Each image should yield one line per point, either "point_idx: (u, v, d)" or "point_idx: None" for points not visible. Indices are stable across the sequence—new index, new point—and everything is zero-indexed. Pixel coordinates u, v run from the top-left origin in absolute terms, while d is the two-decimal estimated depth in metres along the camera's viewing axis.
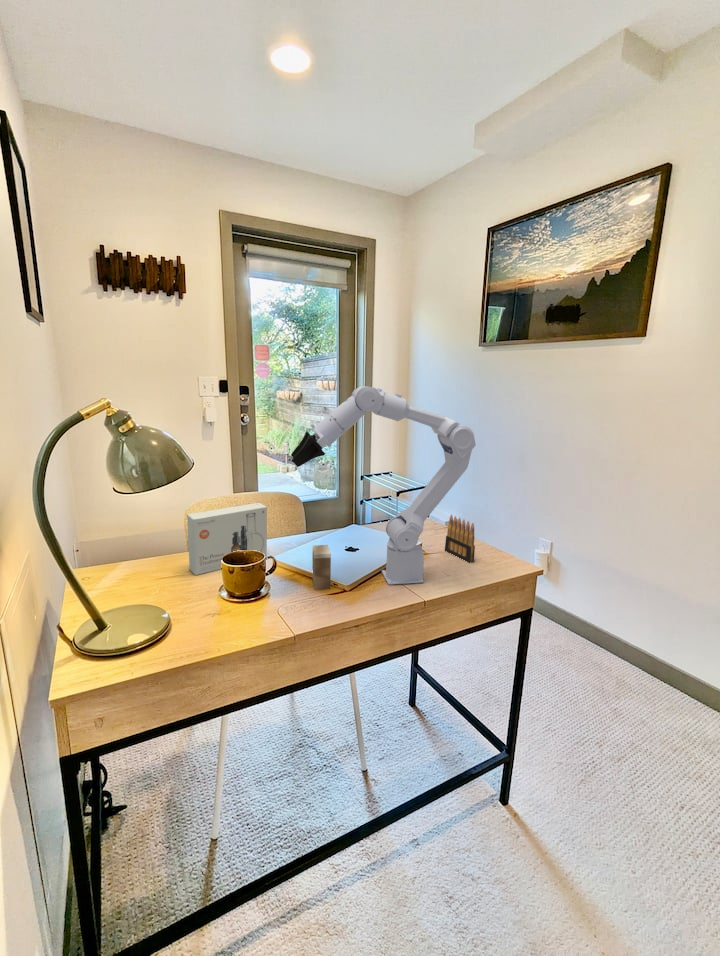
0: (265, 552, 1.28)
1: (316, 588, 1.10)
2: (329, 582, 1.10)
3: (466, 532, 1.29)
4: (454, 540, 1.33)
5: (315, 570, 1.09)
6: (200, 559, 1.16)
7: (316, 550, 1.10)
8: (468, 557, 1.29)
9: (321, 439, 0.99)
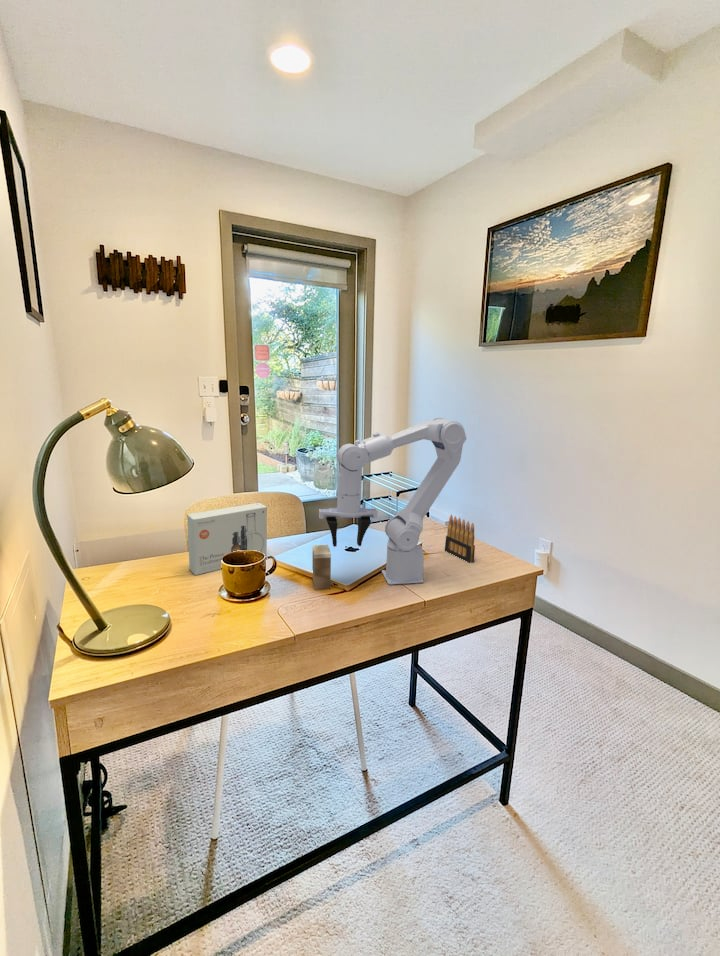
0: (265, 552, 1.28)
1: (316, 588, 1.10)
2: (329, 582, 1.10)
3: (466, 532, 1.29)
4: (454, 540, 1.33)
5: (315, 570, 1.09)
6: (200, 559, 1.16)
7: (316, 550, 1.10)
8: (468, 557, 1.29)
9: None
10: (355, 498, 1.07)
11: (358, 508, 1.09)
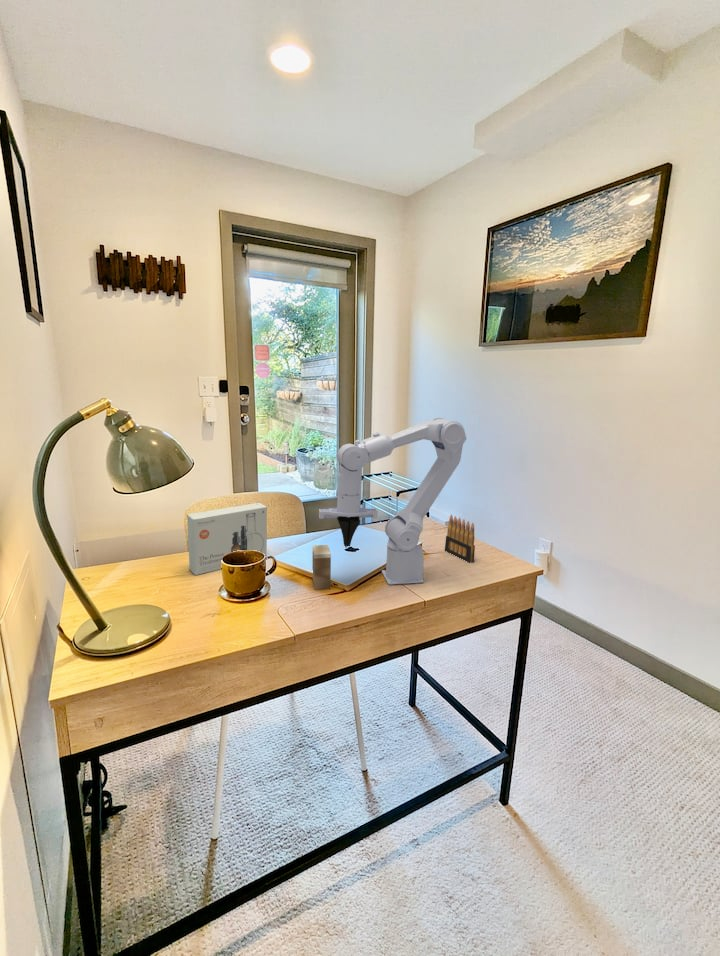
0: (265, 552, 1.28)
1: (316, 588, 1.10)
2: (329, 582, 1.10)
3: (466, 532, 1.29)
4: (454, 540, 1.33)
5: (315, 570, 1.09)
6: (200, 559, 1.16)
7: (316, 550, 1.10)
8: (468, 557, 1.29)
9: None
10: (355, 498, 1.07)
11: (358, 508, 1.09)
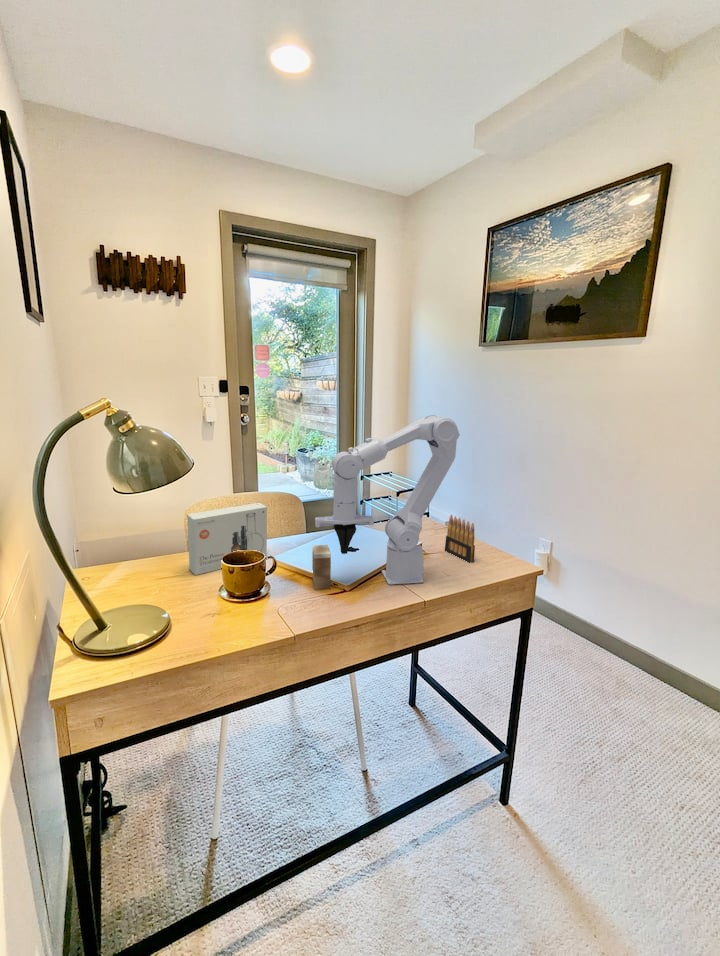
0: (265, 552, 1.28)
1: (316, 588, 1.10)
2: (329, 582, 1.10)
3: (466, 532, 1.29)
4: (454, 540, 1.33)
5: (315, 570, 1.09)
6: (200, 559, 1.16)
7: (316, 550, 1.10)
8: (468, 557, 1.29)
9: (315, 520, 1.10)
10: (351, 506, 1.07)
11: (354, 516, 1.09)
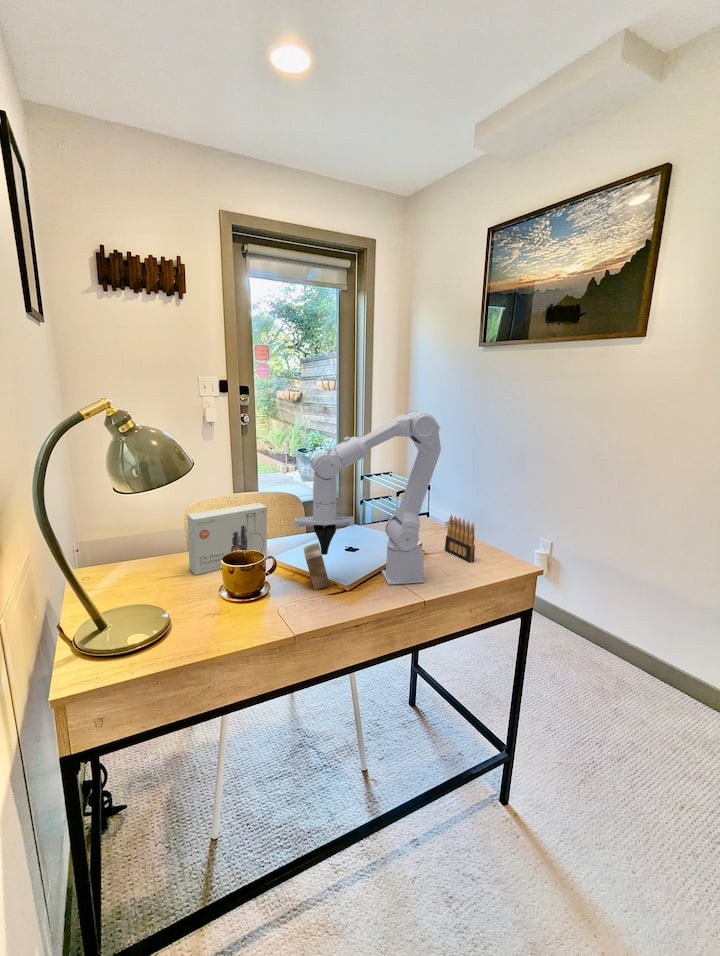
0: (265, 552, 1.28)
1: (316, 587, 1.10)
2: (327, 579, 1.10)
3: (466, 532, 1.29)
4: (454, 540, 1.33)
5: (310, 571, 1.09)
6: (200, 559, 1.16)
7: (306, 551, 1.10)
8: (468, 557, 1.29)
9: None
10: (330, 506, 1.06)
11: (334, 516, 1.08)
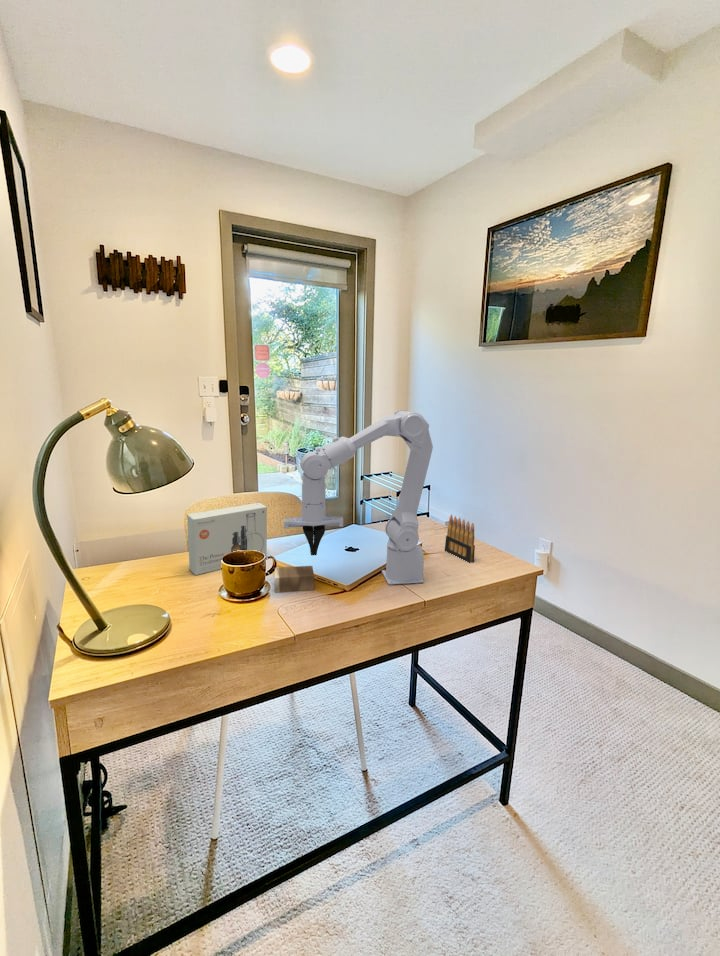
0: (265, 552, 1.28)
1: (312, 588, 1.10)
2: (306, 577, 1.09)
3: (466, 532, 1.29)
4: (454, 540, 1.33)
5: (292, 591, 1.09)
6: (200, 559, 1.16)
7: None
8: (468, 557, 1.29)
9: None
10: (319, 507, 1.06)
11: (323, 517, 1.08)
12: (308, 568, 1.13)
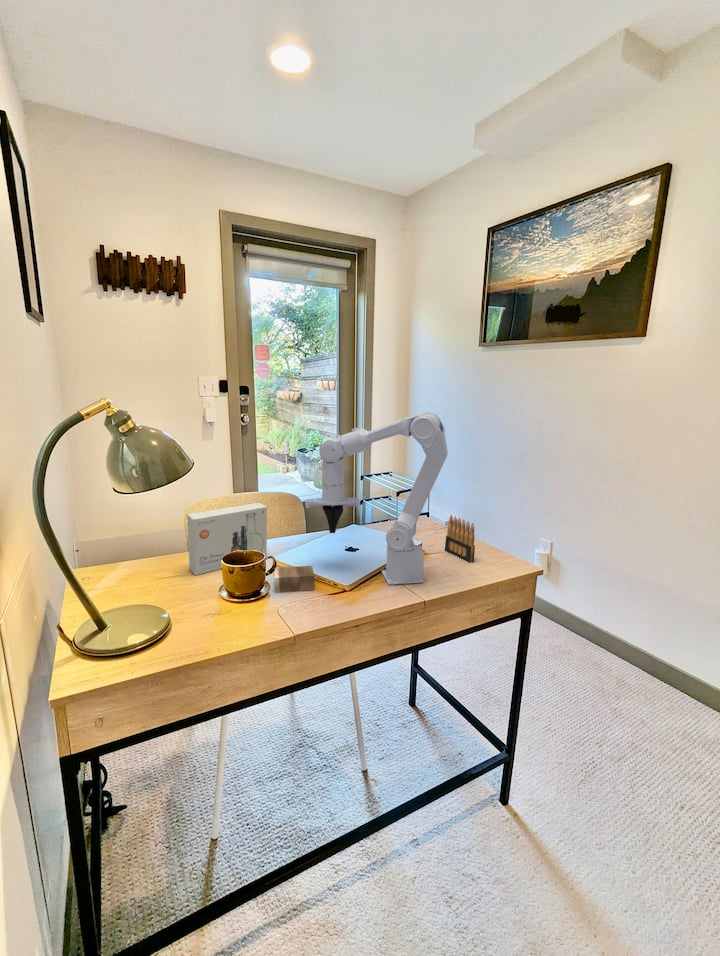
0: (265, 552, 1.28)
1: (312, 588, 1.10)
2: (306, 577, 1.09)
3: (466, 532, 1.29)
4: (454, 540, 1.33)
5: (292, 591, 1.09)
6: (200, 559, 1.16)
7: None
8: (468, 557, 1.29)
9: (305, 502, 1.19)
10: (338, 488, 1.16)
11: (341, 497, 1.18)
12: (308, 568, 1.13)
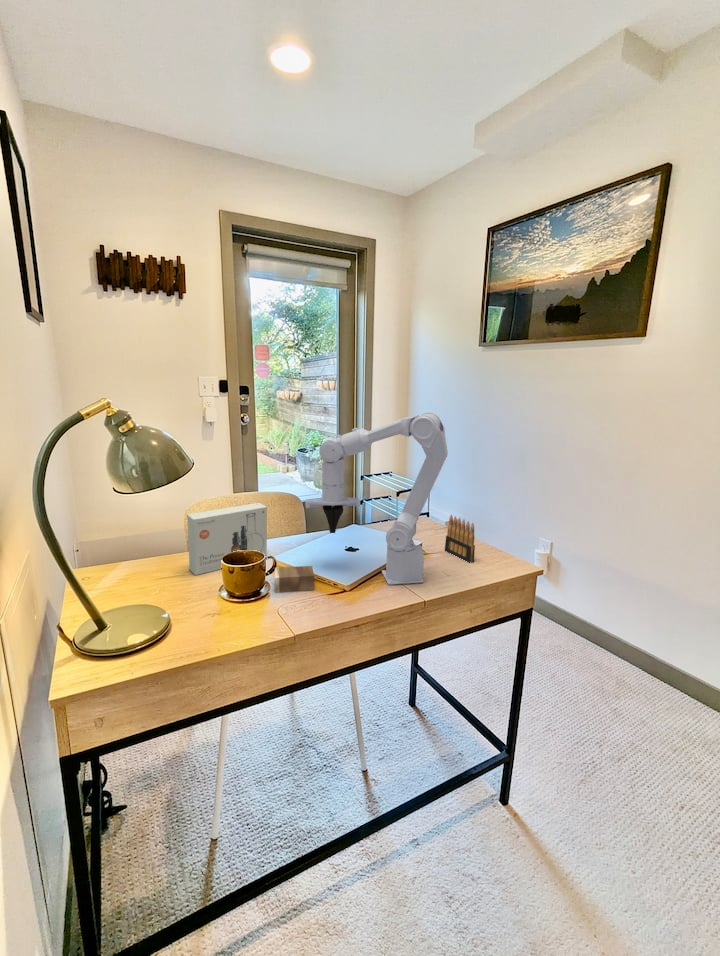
0: (265, 552, 1.28)
1: (312, 588, 1.10)
2: (306, 577, 1.09)
3: (466, 532, 1.29)
4: (454, 540, 1.33)
5: (292, 591, 1.09)
6: (200, 559, 1.16)
7: None
8: (468, 557, 1.29)
9: None
10: (338, 488, 1.16)
11: (341, 497, 1.18)
12: (308, 568, 1.13)
